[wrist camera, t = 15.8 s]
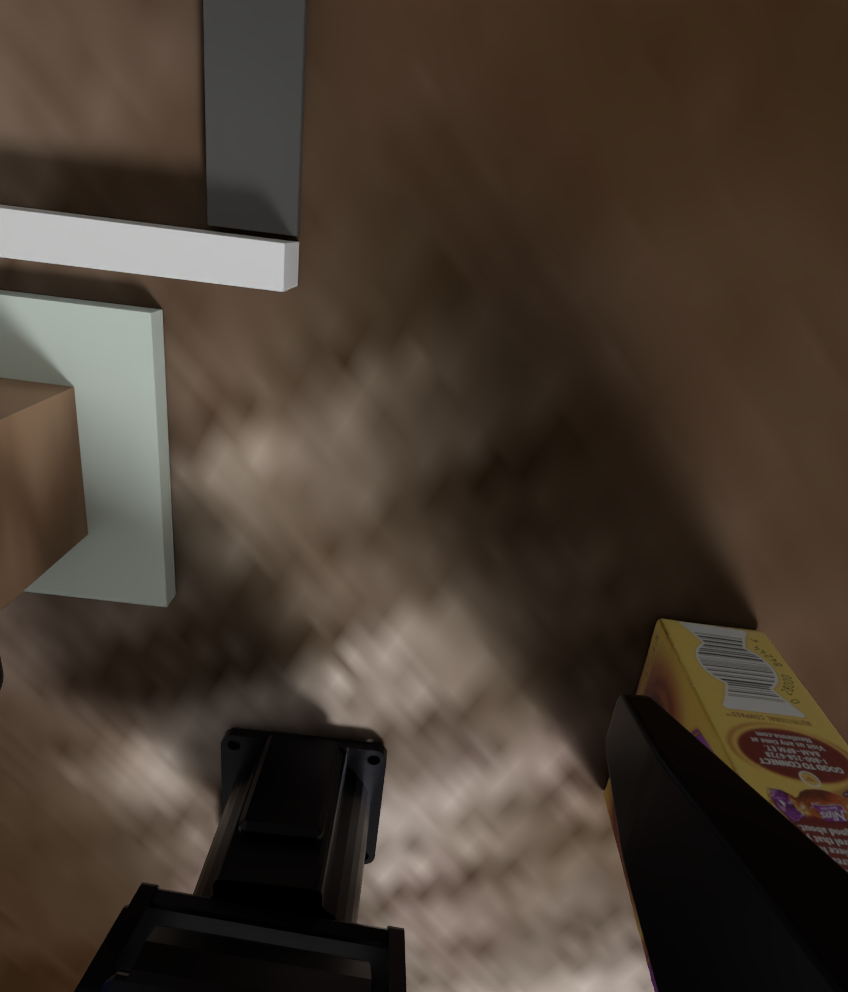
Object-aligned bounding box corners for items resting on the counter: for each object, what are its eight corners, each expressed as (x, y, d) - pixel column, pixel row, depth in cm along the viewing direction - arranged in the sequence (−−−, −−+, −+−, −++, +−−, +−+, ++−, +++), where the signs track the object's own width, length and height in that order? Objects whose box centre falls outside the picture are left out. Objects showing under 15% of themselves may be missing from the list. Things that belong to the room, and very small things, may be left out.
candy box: (644, 612, 23) (977, 1248, 9) (763, 624, 23) (1285, 1274, 9) (592, 793, 26) (767, 1454, 12) (695, 803, 26) (987, 1471, 12)
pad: (175, 594, 23) (166, 607, 22) (-106, 563, 23) (-124, 575, 22) (162, 309, 19) (150, 312, 18) (-179, 267, 19) (-204, 269, 18)
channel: (297, 285, 18) (283, 291, 17) (-190, 225, 18) (-253, 225, 16) (312, -152, 15) (296, -200, 13) (-305, -238, 14) (-402, -298, 13)
